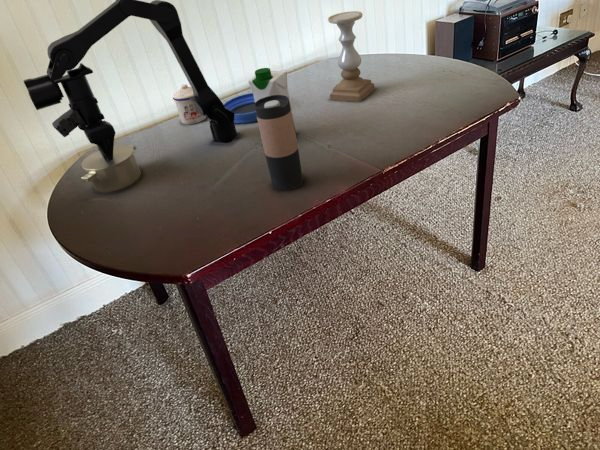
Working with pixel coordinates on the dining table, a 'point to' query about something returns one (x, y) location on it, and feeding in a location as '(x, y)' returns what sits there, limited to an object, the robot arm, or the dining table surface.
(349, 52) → the candle holder
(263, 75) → the milk carton
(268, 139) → the travel mug
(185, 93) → the teacup with lid
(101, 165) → the lid
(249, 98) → the bowl
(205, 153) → the dining table surface
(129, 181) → the pot
